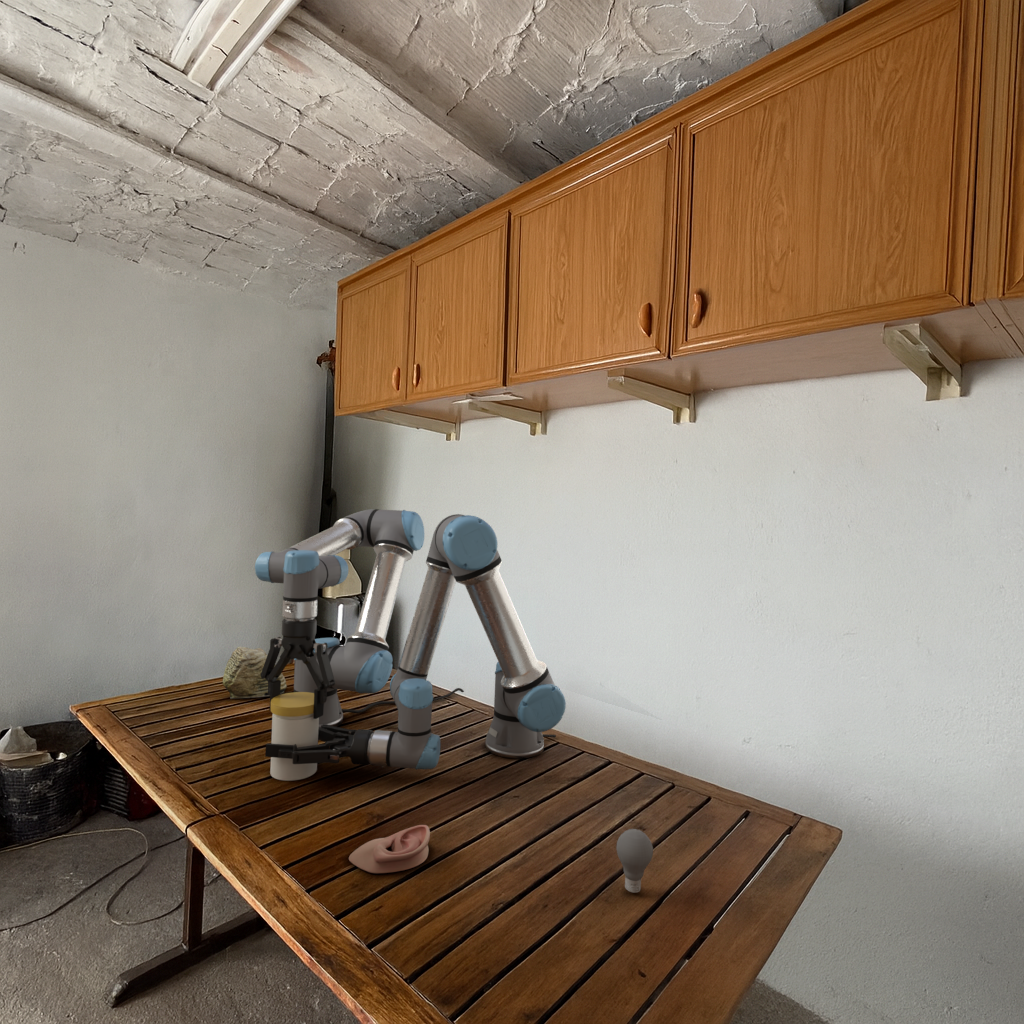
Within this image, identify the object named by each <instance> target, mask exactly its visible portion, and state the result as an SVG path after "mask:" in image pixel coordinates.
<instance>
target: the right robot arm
mask: <svg viewBox="0 0 1024 1024" xmlns="http://www.w3.org/2000/svg"><path fill="white" fill-rule="evenodd" d="M430 541H431V542H430V546H429V549H428V553H427V556H426V560H425V564H426V566H427V571H426V574H425V576H424V580H423V584H422V588H421V591H420V593H419V598H418V599H417V600H418V601H417V604H416V607H415V610H414V613H413V618H412V619H411V624H410V627H409V630H408V634H407V637H406V639H405V643H404V647H403V650H402V653H401V656H400V659H399V663H398V667H397V670H396V671H395V672H396V673H394V675H392V677H391V679H390V682H389V691H390V695H391V697H392V699H393V701H395V704H394V705H395V706H396V708H397V731H395V730H394V731H393V730H381V729H376V730H375V731H373V730H372V729H363V728H361V729H360V728H359V729H351V728H349V729H348V728H344V727H340V726H337V727H335V726H330V725H324V724H323V725H321V727H319V729H318V742H319V741H321V742H323V743H320V744H319V743H318V745H312V746H304V747H297V745H296V744H295V745H284V744H271V743H270V742H269V743H268V742H267V743H266V744H265V756H264V757H266V758H271V757H276V758H289V759H293V764H310V763H317V764H327V763H328V764H339V763H340V759H341V758H347V757H348V758H350V762H351V763H352V764H353V765H358V766H359V765H360V766H361V765H362V766H368V765H369V764H370V766H378V767H381V768H382V769H383V768H384V769H385V768H386V767H390V768H391V767H393V768H403V769H413V770H433V769H435V768H436V767H437V766H438V764H439V761H440V756H441V744H442V743H441V737H440V735H439V734H435V733H432V716H433V714H432V713H433V712H432V711H433V702H434V701H433V698H434V694H433V683H432V682H431V681H429V680H427V679H428V675H429V671H430V668H431V665H432V661H433V658H434V655H435V652H436V648H437V646H438V641H439V638H440V636H441V632H442V628H443V625H444V623H445V619H446V616H447V612H448V609H449V606H450V603H451V599H452V596H453V593H454V590H455V586H456V583H458V584H460V585H463V586H465V589H466V591H467V593H468V596H469V598H470V601H471V603H472V604H473V607H474V609H475V611H476V614H477V616H478V618H479V621H480V623H481V625H482V628H483V630H484V632H485V635H486V637H487V639H488V641H489V643H490V646H491V648H492V651H493V653H494V655H495V657H496V660H497V662H496V664H495V671H494V675H495V676H494V677H495V678H494V700H493V701H494V703H493V718H492V720H491V723H490V726H489V729H488V731H487V733H486V737H485V749H486V750H487V751H488V752H489V753H491V754H492V755H494V756H498V757H501V758H506V759H528V758H534V757H537V756H539V755H540V754H542V753H543V752H544V750H545V740H544V738H555V739H556V738H557V735H556V734H548V733H547V734H545V732H547V731H549V730H552V729H553V728H555V727H556V726H557V725H558V724H559V723H560V722H561V720H562V718H563V716H564V714H565V712H566V708H567V703H566V702H567V701H566V698H565V695H564V692H563V691H562V689H561V688H560V687H559V686H558V685H556V684H555V682H554V680H553V678H552V675H551V673H550V670H549V668H548V666H547V664H546V662H544V661H543V660H539V659H538V658H537V657H536V654H535V652H534V649H533V647H532V644H531V642H530V640H529V638H528V635H527V633H526V631H525V629H524V626H523V624H522V622H521V619H520V616H519V614H518V612H517V610H516V608H515V605H514V603H513V600H512V598H511V596H510V593H509V591H508V589H507V586H506V584H505V582H504V579H503V577H502V575H501V572H500V568H501V566H502V565H503V564H502V563H503V560H502V558H501V555H500V553H499V551H498V537H497V535H496V532H495V530H494V529H493V527H492V525H490V524H489V523H488V522H486V520H484V519H482V518H481V517H478V516H476V515H470V514H469V515H468V514H462V513H461V514H459V513H457V514H450V515H448V516H446V517H444V518H442V520H440V522H438V524H437V526H436V527H435V529H434V531H433V535H432V537H431V540H430ZM326 729H327V730H326ZM543 732H544V733H543Z"/></svg>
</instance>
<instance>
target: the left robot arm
mask: <svg viewBox="0 0 1024 1024" xmlns="http://www.w3.org/2000/svg"><path fill="white" fill-rule="evenodd" d="M424 542H425V526H424V522H423V519H422V517H421V515H420V514H419V513H417V512H416V511H411V510H406V509H403V510H400V509H399V510H397V509H378V508H369V509H364V510H360V511H357V512H354V513H352V514H348V515H346V516H344V517H342V518H339V519H338V520H336V521H335V522H334V524H333V525H332V526H331V527H329V528H327V529H325V530H323V531H321V532H318V533H317V534H315V535H312V536H310V537H308V538H306V539H304V540H302V541H300V542H297V543H296V544H294V545H292V546H289V547H287V548H285V549H283V550H281V551H264V552H262V553H260V554H259V555H258V557H257V558H256V560H255V563H254V570H255V571H254V573H255V575H256V577H257V579H258V580H260V581H262V582H266V583H267V582H268V583H271V584H283V595H282V614H281V615H282V617H283V619H282V620H281V635H282V637H281V636H276V637H273V638H271V639H269V649H268V653H267V658H266V661H265V664H264V667H263V669H262V672H261V675H260V676H261V678H265V679H266V680H267V681H268V695H270V696H269V712H271V700H272V699H273V698H274V697H276V696H278V695H281V693H280V690H281V680H277V681H276V679H279V678H278V677H279V676H280V674H281V673H282V674H283V671H284V670H285V668H286V667H287V665H288V663H289V662H290V661H291V660H294V672H293V692H310V693H314V714H313V718H314V719H317V718H319V727H321V725H323V724H324V725H330V726H335V727H340V725H342V723H343V722H344V713H351V714H360V713H364V712H366V711H367V710H368V709H370V708H372V707H376V706H381V705H396V704H395V701H394V700H385V701H384V700H383V701H376V702H372V703H370V704H368V705H367V706H365V707H363V708H361V709H350V708H342V706H341V702H340V699H339V695H338V690H339V691H340V690H341V691H347V692H354V693H357V694H358V693H359V694H376V693H378V692H380V691H381V690H382V689H383V688H384V687H385V685H386V684H387V683H388V681H389V679H390V676H391V675H392V670H393V665H394V664H393V655H392V653H391V652H390V651H389V649H390V646H389V644H388V643H387V641H386V638H387V635H388V631H389V627H390V623H391V619H392V615H393V611H394V607H395V604H396V599H397V596H398V592H399V589H400V584H401V580H402V577H403V573H404V569H405V564H406V562H408V561H410V560H412V558H413V556H414V555H413V554H414V552H417V551H420V550H421V549H422V548H423V546H424ZM359 547H360V548H361V547H365V548H367V547H368V548H373V551H374V553H375V554H376V555H375V556H376V557H375V560H374V563H373V567H372V570H371V574H370V578H369V581H368V585H367V588H366V592H365V596H364V598H363V602H362V605H361V610H360V613H359V615H358V620H357V624H356V627H355V630H354V632H353V634H351V635H349V636H348V637H347V639H346V641H345V645H340V644H341V643H340V642H341V641H340V639H339V638H337V637H320V638H319V637H318V638H316V634H317V622H318V621H317V619H316V617H317V616H318V594H319V593H318V592H319V589H325V588H330V587H335V586H338V585H340V584H343V582H345V581H346V579H347V578H348V575H349V565H348V562H347V561H346V560H345V558H344V557H342V556H341V555H338V554H340V553H341V552H343V551H345V550H347V551H350V550H354V549H356V548H359ZM282 648H283V649H284V650H283V651H282V653H281V655H280V652H281V649H282ZM279 655H280V656H279ZM278 658H279V659H278ZM277 660H278V661H277ZM274 666H275V667H274ZM456 692H461V693H464V692H465V690H464V689H463V688H460V687H456V688H454V689H453V690H452V691H451V692H449V693H447V694H444V695H441V696H438V697H433V701H432V702H437V701H441V700H443V699H446V698H448V697H451V696H452V695H453V694H455V693H456ZM326 730H327V729H326Z"/></svg>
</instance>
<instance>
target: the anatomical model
mask: <svg viewBox="0 0 1024 1024" xmlns="http://www.w3.org/2000/svg"><path fill="white" fill-rule="evenodd" d="M430 838H431V830H430V827H429V826H428V825H427V824H419V825H413V826H411V827H409V828H405V829H403V830H400V831H398V832H396V833H393V834H391V835H389V836H386V837H379V838H375V839H372V840H369V841H367V842H365V843H364V844H362V845H360V846H358V848H356V849H355V850H353V852H352V853H350V855H349V857H348V860H349V862H350V863H351V864H352V865H354V866H356V867H357V868H358V869H361V870H363V871H365V872H367V873H369V874H370V873H371V874H387V873H388V874H389V873H396V872H401V871H405V870H409V869H412V868H415V867H418V866H419V865H421V864H422V863H425V861H426V860H427V859H428V856H429V842H430Z"/></svg>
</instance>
